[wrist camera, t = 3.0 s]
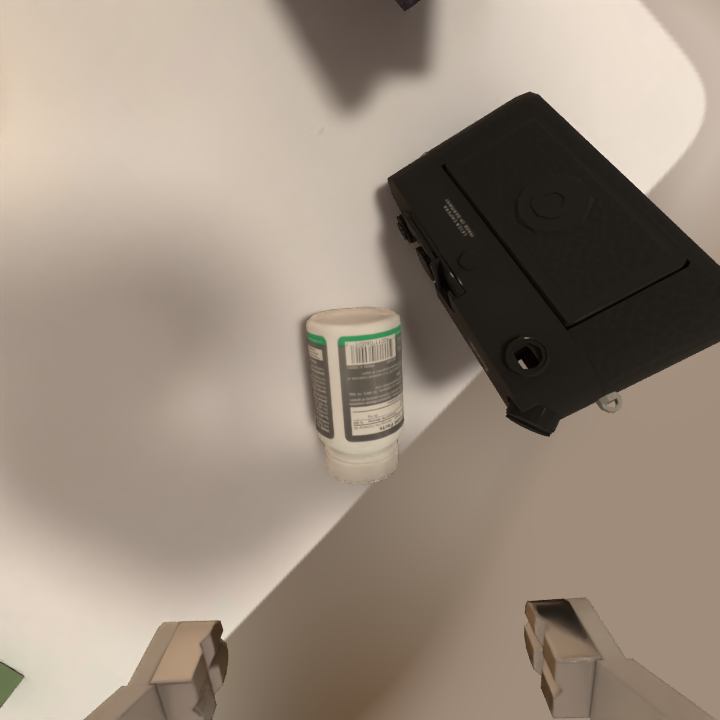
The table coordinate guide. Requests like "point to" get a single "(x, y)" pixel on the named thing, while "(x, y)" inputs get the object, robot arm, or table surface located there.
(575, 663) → the robot arm
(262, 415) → the table surface
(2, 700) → the block sage
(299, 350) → the table surface
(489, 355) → the camera
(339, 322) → the pill bottle
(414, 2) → the crystal
